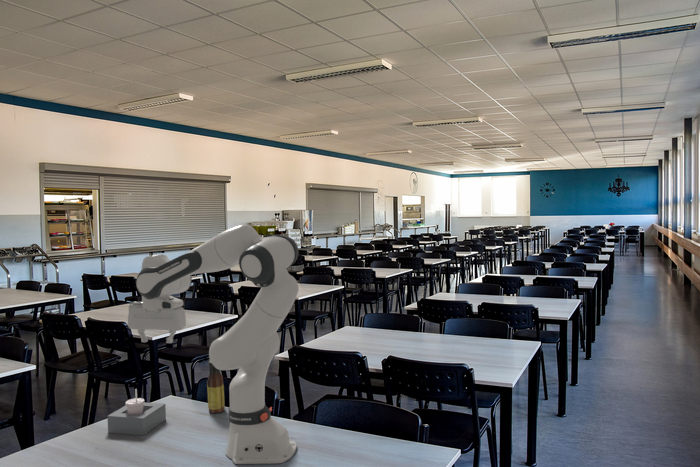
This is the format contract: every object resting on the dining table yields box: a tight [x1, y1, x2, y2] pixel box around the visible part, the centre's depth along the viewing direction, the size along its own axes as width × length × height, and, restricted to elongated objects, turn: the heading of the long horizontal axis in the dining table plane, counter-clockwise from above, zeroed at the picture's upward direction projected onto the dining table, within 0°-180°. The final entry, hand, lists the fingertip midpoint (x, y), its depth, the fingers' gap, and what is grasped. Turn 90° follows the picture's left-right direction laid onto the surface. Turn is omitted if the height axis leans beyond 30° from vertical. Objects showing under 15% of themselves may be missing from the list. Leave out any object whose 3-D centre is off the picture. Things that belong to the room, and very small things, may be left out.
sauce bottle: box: [206, 360, 226, 414], centre depth 198 cm, size 6×6×20 cm
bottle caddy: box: [107, 402, 167, 436], centre depth 185 cm, size 14×14×6 cm
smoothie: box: [125, 388, 146, 415], centre depth 183 cm, size 6×6×14 cm
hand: (157, 342), depth 173 cm, fingers open, 8 cm apart
